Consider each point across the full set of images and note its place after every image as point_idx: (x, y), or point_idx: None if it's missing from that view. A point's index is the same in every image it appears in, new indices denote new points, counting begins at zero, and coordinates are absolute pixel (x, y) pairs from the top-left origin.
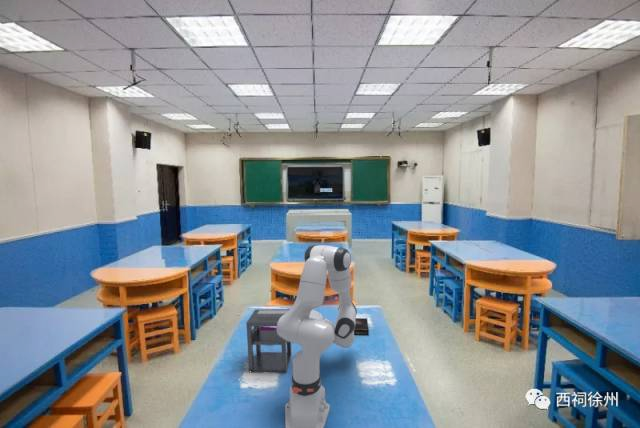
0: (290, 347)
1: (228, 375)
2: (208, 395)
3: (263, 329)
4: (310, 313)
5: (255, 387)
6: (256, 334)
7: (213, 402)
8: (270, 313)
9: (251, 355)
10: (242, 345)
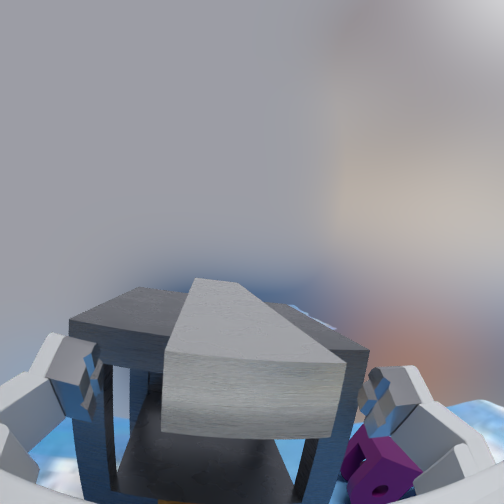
0: None
1: (128, 441)
2: None
3: (361, 439)
4: (423, 496)
5: (40, 485)
6: None
7: None
8: (194, 283)
9: (130, 433)
10: (302, 446)
